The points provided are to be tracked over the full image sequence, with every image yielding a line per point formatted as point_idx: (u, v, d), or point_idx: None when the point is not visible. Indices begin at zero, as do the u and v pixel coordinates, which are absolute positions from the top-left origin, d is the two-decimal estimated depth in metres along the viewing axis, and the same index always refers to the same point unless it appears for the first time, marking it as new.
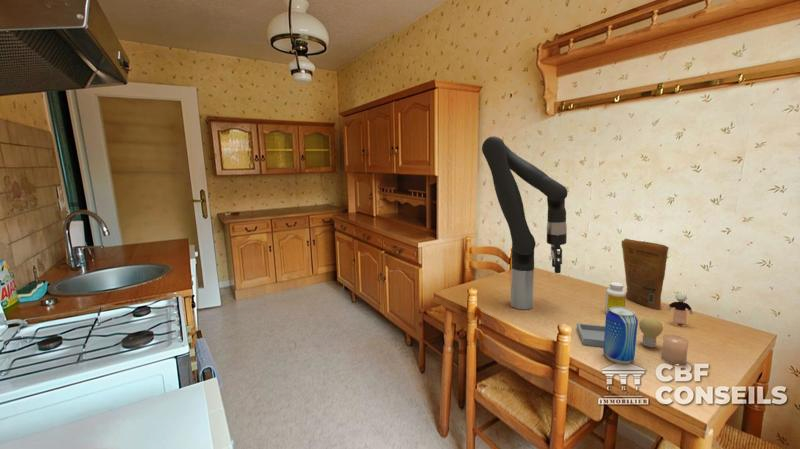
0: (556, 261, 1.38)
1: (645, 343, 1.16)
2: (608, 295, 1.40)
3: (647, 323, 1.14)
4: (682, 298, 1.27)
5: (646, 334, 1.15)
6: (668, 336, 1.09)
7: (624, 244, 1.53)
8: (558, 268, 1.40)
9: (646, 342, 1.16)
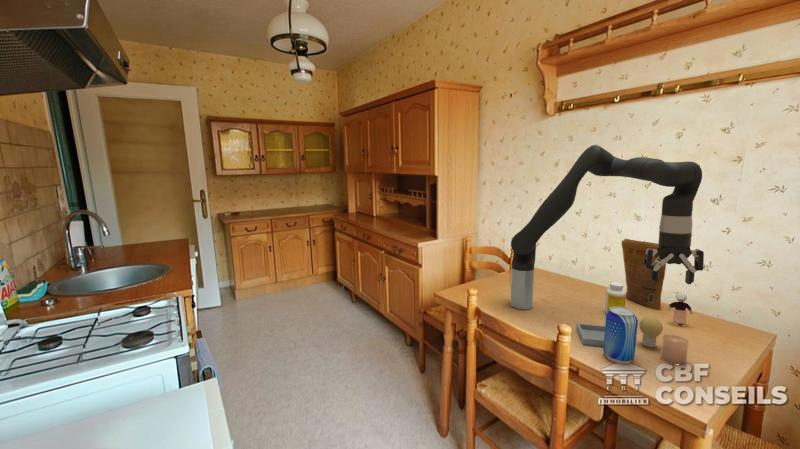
0: None
1: (645, 343, 1.16)
2: (608, 295, 1.40)
3: (647, 323, 1.14)
4: (682, 298, 1.27)
5: (646, 334, 1.15)
6: (668, 336, 1.09)
7: (624, 244, 1.53)
8: None
9: (646, 342, 1.16)
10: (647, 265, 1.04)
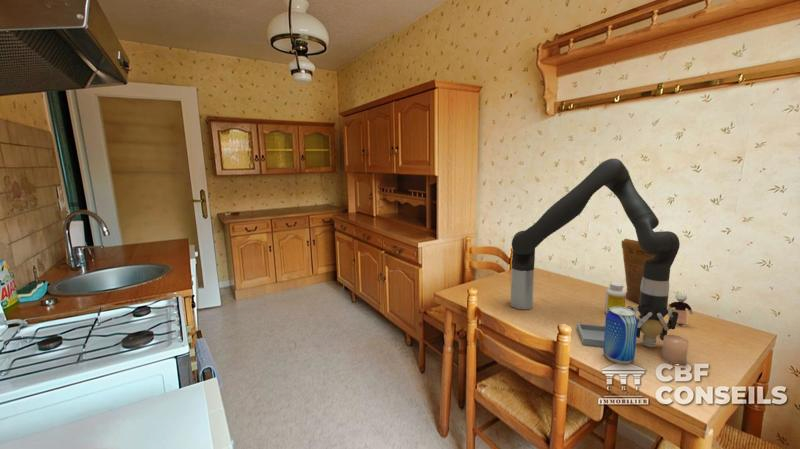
0: None
1: (645, 343, 1.16)
2: (608, 295, 1.40)
3: (647, 323, 1.14)
4: (682, 298, 1.27)
5: (646, 334, 1.15)
6: (668, 336, 1.09)
7: (624, 244, 1.53)
8: None
9: (646, 342, 1.16)
10: None
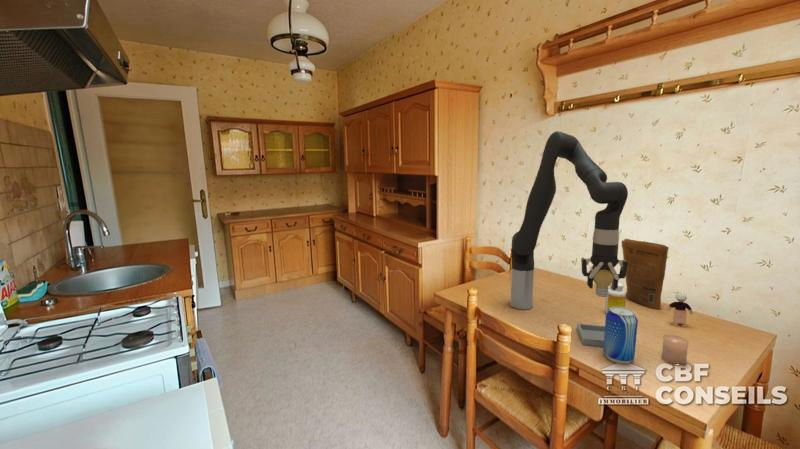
0: None
1: (597, 293, 1.19)
2: (608, 295, 1.40)
3: (598, 273, 1.17)
4: (682, 298, 1.27)
5: (598, 284, 1.18)
6: (668, 336, 1.09)
7: (624, 244, 1.53)
8: None
9: (598, 292, 1.18)
10: (584, 273, 1.19)
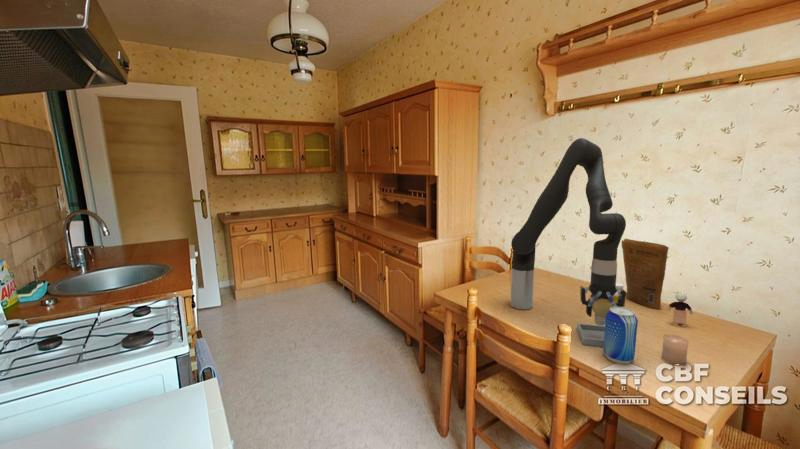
0: None
1: (596, 321, 1.21)
2: None
3: (597, 301, 1.19)
4: (682, 298, 1.27)
5: (597, 312, 1.19)
6: (668, 336, 1.09)
7: (624, 244, 1.53)
8: None
9: (597, 320, 1.20)
10: (583, 301, 1.21)
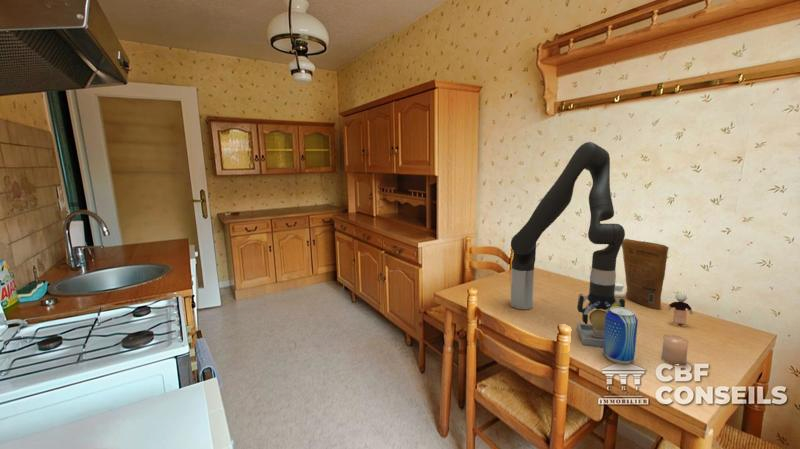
0: None
1: (594, 335, 1.21)
2: None
3: (595, 315, 1.19)
4: (682, 298, 1.27)
5: (595, 326, 1.20)
6: (668, 336, 1.09)
7: (624, 244, 1.53)
8: None
9: (595, 334, 1.21)
10: (579, 309, 1.21)
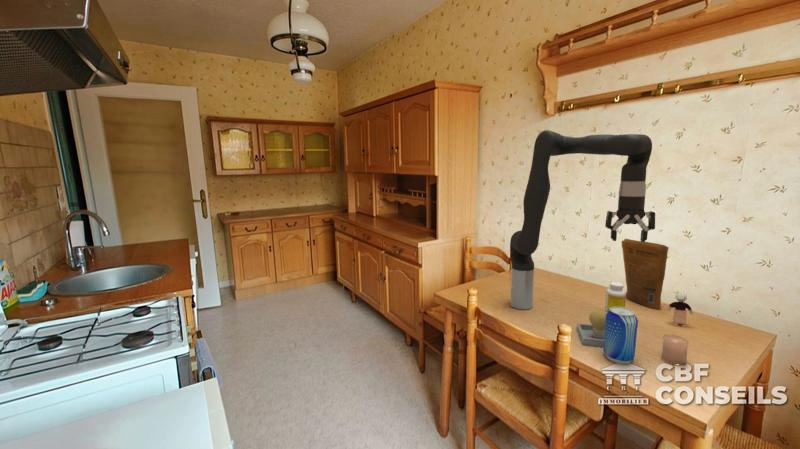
0: (654, 225, 1.16)
1: (594, 335, 1.21)
2: (608, 295, 1.40)
3: (595, 315, 1.19)
4: (682, 298, 1.27)
5: (595, 326, 1.20)
6: (668, 336, 1.09)
7: (624, 244, 1.53)
8: None
9: (595, 334, 1.21)
10: (607, 225, 1.20)
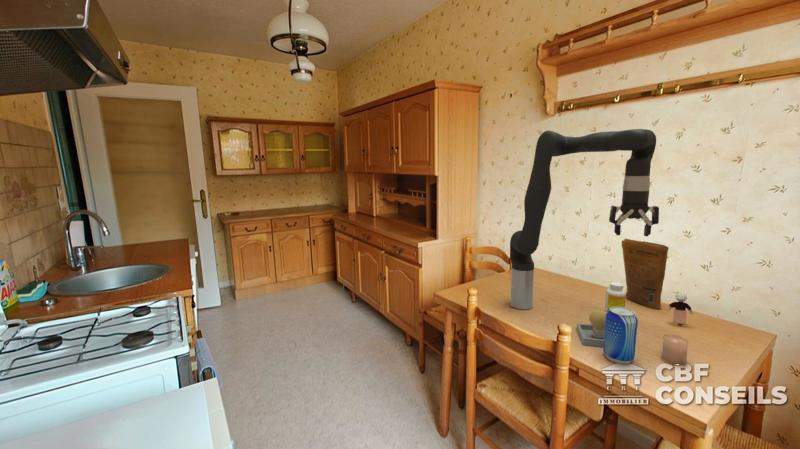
0: None
1: (594, 335, 1.21)
2: (608, 295, 1.40)
3: (595, 315, 1.19)
4: (682, 298, 1.27)
5: (595, 326, 1.20)
6: (668, 336, 1.09)
7: (624, 244, 1.53)
8: None
9: (595, 334, 1.21)
10: (611, 220, 1.21)
